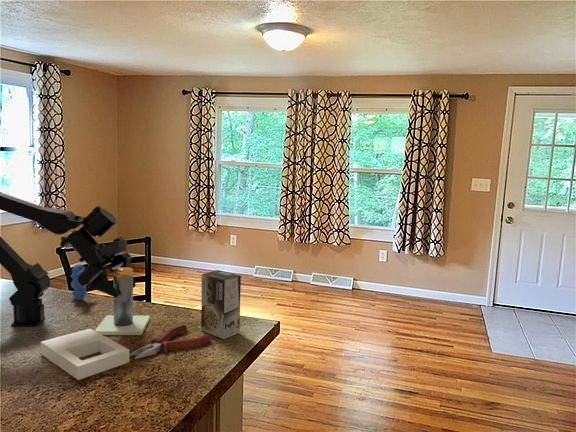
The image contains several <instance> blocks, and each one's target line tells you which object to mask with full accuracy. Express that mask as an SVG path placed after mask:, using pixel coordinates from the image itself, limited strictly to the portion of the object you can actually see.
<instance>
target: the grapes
mask: <svg viewBox="0 0 576 432" xmlns="http://www.w3.org/2000/svg"><path fill="white" fill-rule="evenodd" d="M85 269H86V267H85V266H84V265H83V264H81V263H79V264H76V265H74V266H73V268H72V269H71V271H72V273H71V275H70V278H72V280H71V282H70V287H71V288H72V289H74V290H73V291H72V292H71V295H72V296H73V297H74V299H75V300H77V301H82V300H83V299H84V298H85V296H86V295H87V294H88V291H87V290H86V289H87V287H86V286H87V285H86V286H84V287H82V286H81V285H80V284H79V283H78V280H77V277H78V276H79V275H80V274H81V273H82V272H83V271H84V270H85Z"/></svg>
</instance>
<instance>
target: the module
mask: <svg viewBox="0 0 576 432" xmlns="http://www.w3.org/2000/svg"><path fill="white" fill-rule="evenodd" d="M112 274H113V275H112V276H113V277H112V278H113V282H112V283H113V284H112V285H113V286H114V288H115V289H116V290H117V292H118V294H119V296H118V297H116V298H115V297H113V315H114V325H115V326H128V325H131V324H132V323H133V316H134V288H133V280H134V269H133V268H132V267H129V268H127V267H122V268H116V269H114V270H113V273H112Z"/></svg>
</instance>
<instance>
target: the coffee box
mask: <svg viewBox="0 0 576 432" xmlns="http://www.w3.org/2000/svg"><path fill="white" fill-rule="evenodd" d="M241 279H242V276H241V275H240V274H235V273H231V272H227V271H223V270H219V269H217V270H212V271H209V272H206V273H202V274H201V313H200V314H201V322H200V323H201V324H200V325H201V327H200V329H201V332H204V333H206V334H208V335H210V336H214V337H217V338H220V339H223V340H225V339H227V338H231V337H233V336H235V335H238V334H240V328H241V327H240V325H241V323H240V320H241V319H240V318H241V289H242V288H241V285H242V283H241V282H242V281H241Z"/></svg>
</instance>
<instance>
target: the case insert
mask: <svg viewBox="0 0 576 432" xmlns="http://www.w3.org/2000/svg"><path fill="white" fill-rule="evenodd" d="M97 353H100V354H99V355H96V356H92V357H89V358H86V359H83V360H82V359H80V358H84V357H87V356H89V355H93V354H97ZM40 354H41V355H42V356H43V357H44V358H46V359H48V360H49V361H51V362H52V363H53V364H54V365H56V366H57V367H59V368H60V369H62V370H63V371H65V372H66V373H67V374H68V375H70V376H71V377H73V378H75V380H77V381H79V380H83V379H85V378H89V377H91V376H94V375H96V374H99V373H102V372H106V371H107V370H110V369H113V368H117V367H119V366H123V365H125V364H128V363H130V356H129V354H130V349H128V348H127V347H126V346H123V345H121V344H119V343H118V342H116V341H114V340H112V339H110V338H109V337H107V336H106V335H101V334H99V333H97V332H96V331H95V330H93V329H92V328H87V329H83V330H80V331H75V332H72V333H69V334H65V335H60V336H57V337H52V338H50V339H46V340H42V341H40Z"/></svg>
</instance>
